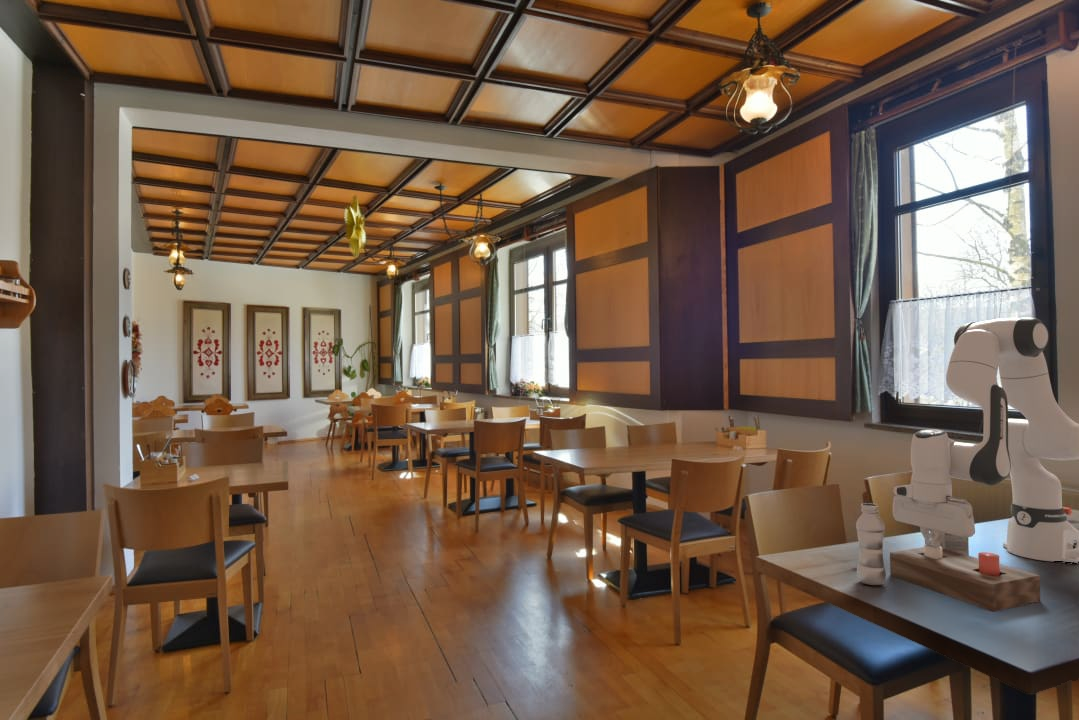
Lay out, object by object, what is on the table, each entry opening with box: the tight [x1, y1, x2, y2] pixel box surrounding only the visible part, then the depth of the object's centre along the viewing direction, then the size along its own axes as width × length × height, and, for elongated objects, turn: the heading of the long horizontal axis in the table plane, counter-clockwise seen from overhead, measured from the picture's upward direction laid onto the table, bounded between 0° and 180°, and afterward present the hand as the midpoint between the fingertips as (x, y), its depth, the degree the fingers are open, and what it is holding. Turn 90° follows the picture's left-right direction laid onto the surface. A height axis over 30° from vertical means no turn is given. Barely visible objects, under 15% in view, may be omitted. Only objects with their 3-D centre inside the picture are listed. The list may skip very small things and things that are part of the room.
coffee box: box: [929, 530, 970, 556], centre depth 167 cm, size 9×6×16 cm
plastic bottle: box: [855, 502, 887, 586], centre depth 153 cm, size 6×7×20 cm
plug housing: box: [889, 546, 1041, 612], centre depth 150 cm, size 16×26×6 cm, turn 20°
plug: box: [923, 544, 942, 559], centre depth 156 cm, size 4×4×6 cm
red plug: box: [977, 551, 1001, 576], centre depth 143 cm, size 4×4×6 cm
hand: (932, 546), depth 156 cm, fingers closed, pressing on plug
